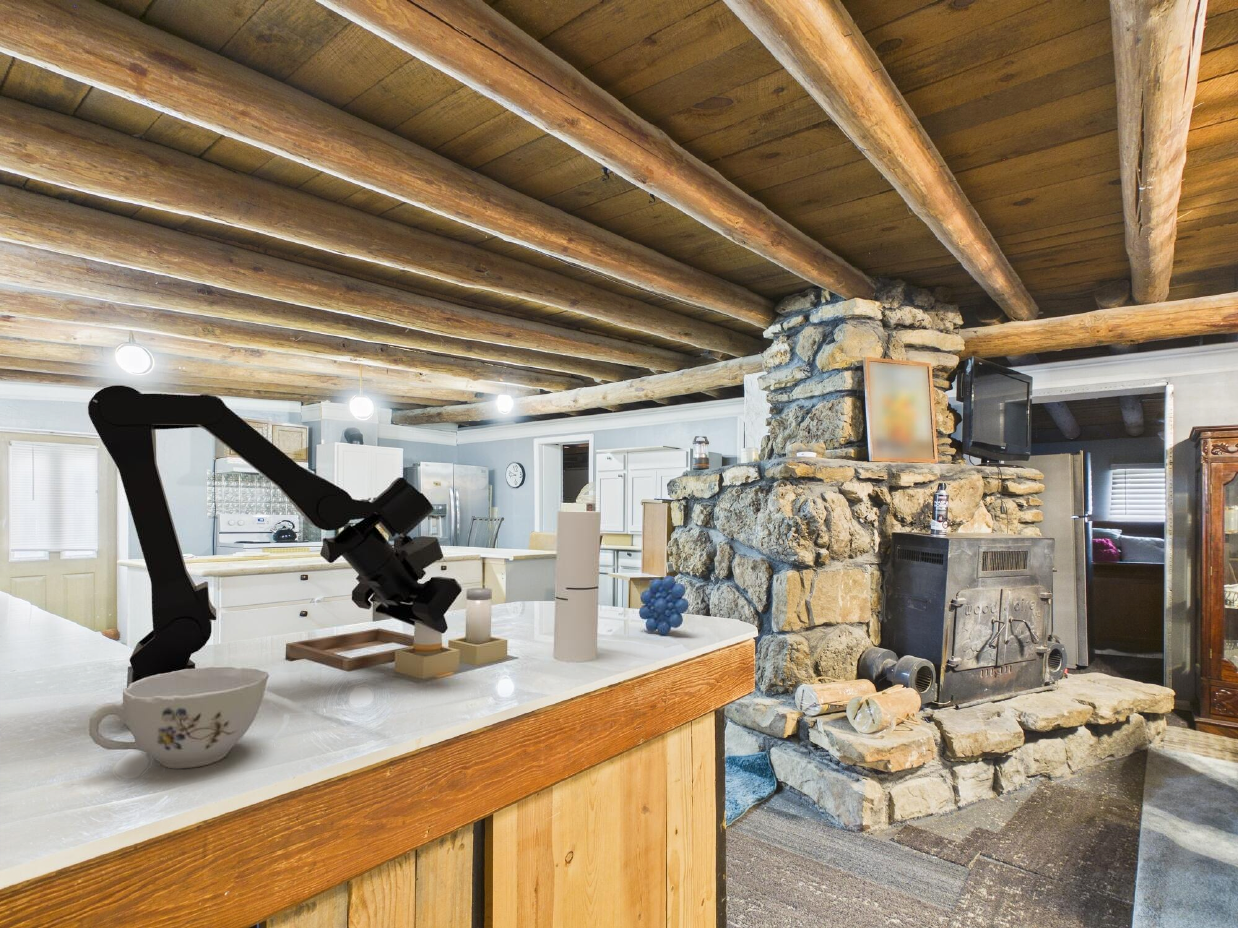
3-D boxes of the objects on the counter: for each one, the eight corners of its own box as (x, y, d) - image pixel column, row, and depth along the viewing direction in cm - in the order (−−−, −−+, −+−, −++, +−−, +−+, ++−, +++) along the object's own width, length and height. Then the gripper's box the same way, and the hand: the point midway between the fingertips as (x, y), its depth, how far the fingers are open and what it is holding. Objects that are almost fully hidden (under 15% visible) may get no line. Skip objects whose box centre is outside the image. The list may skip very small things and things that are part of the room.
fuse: (476, 662, 106) (478, 592, 107) (459, 658, 109) (461, 589, 109) (495, 658, 110) (497, 589, 110) (478, 654, 112) (480, 587, 113)
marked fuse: (424, 674, 98) (427, 597, 99) (406, 669, 101) (409, 594, 101) (446, 668, 102) (449, 594, 102) (429, 664, 104) (431, 592, 105)
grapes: (698, 635, 137) (699, 576, 138) (680, 640, 132) (682, 578, 132) (651, 627, 144) (652, 571, 145) (632, 632, 139) (633, 573, 139)
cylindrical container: (590, 669, 108) (594, 512, 109) (547, 666, 109) (552, 511, 110) (600, 659, 115) (604, 511, 116) (560, 656, 116) (564, 510, 117)
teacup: (245, 728, 78) (249, 657, 78) (280, 761, 69) (284, 681, 69) (78, 760, 68) (83, 679, 68) (93, 804, 58) (99, 709, 59)
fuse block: (418, 690, 94) (419, 661, 95) (379, 678, 100) (380, 651, 100) (519, 663, 111) (520, 638, 111) (481, 655, 116) (482, 631, 116)
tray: (347, 677, 100) (347, 660, 100) (285, 658, 110) (286, 643, 110) (441, 657, 114) (442, 642, 114) (379, 642, 124) (379, 628, 124)
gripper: (453, 520, 94) (508, 593, 102) (372, 515, 105) (428, 581, 113) (403, 583, 87) (466, 655, 95) (322, 570, 98) (385, 636, 106)
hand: (435, 628), depth 103 cm, fingers closed on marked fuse, 4 cm apart
